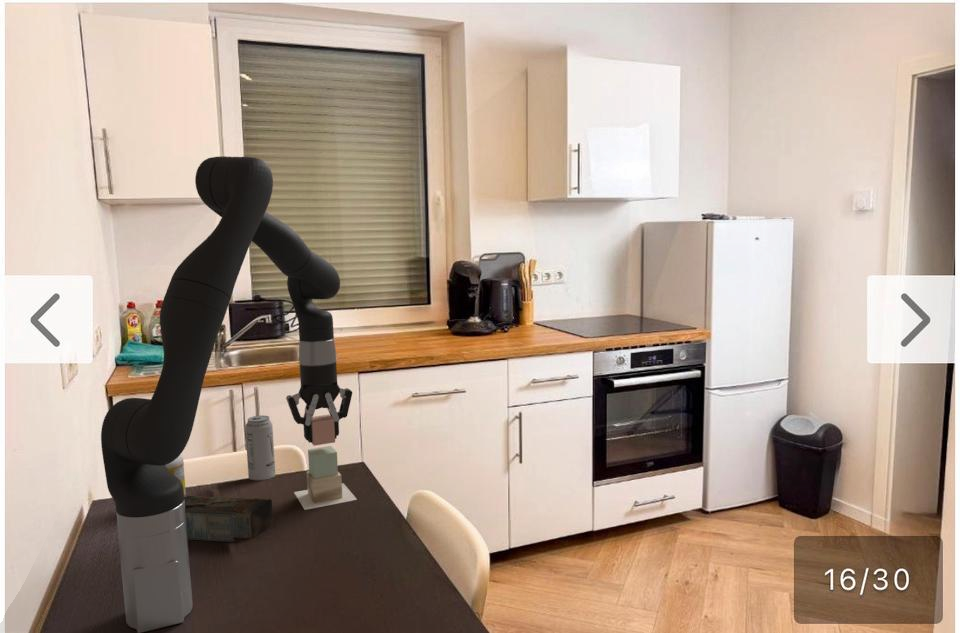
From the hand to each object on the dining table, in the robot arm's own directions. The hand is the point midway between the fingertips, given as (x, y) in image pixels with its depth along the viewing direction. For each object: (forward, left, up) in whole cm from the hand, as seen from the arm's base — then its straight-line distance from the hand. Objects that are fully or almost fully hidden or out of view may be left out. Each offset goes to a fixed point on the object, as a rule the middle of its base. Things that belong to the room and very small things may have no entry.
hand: (322, 439), depth 146 cm
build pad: (0, 0, -14) cm, 14 cm away
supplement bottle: (+16, +30, -14) cm, 37 cm away
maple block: (0, 0, -13) cm, 13 cm away
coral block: (0, 0, 0) cm, 0 cm away
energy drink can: (+20, +10, -14) cm, 26 cm away
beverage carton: (-6, +22, -14) cm, 27 cm away
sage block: (0, 0, -8) cm, 8 cm away
